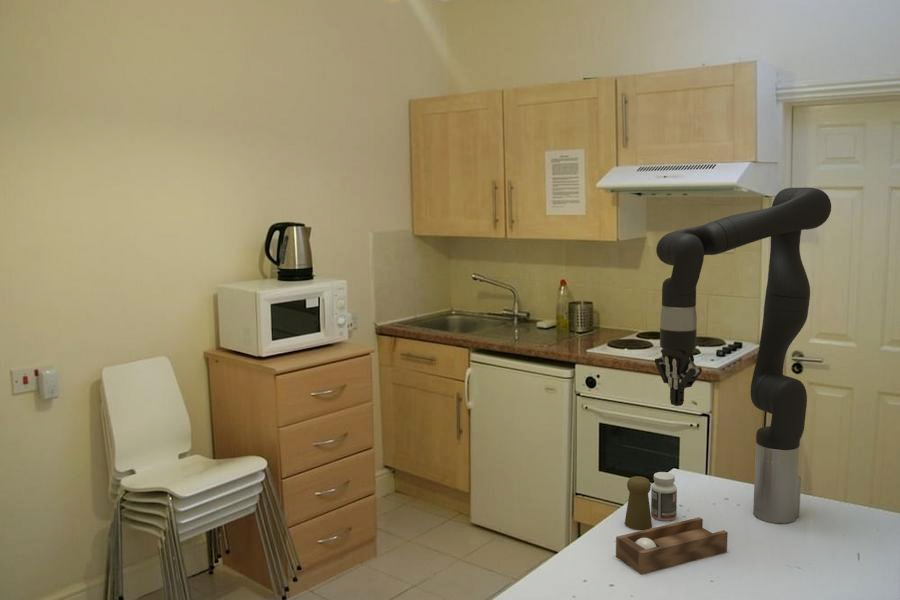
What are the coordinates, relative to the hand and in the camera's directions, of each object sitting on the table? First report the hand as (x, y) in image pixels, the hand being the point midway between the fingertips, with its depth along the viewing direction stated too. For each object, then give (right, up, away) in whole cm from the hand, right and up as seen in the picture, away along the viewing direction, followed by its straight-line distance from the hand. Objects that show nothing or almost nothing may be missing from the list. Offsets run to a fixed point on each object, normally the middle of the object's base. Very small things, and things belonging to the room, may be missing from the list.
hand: (676, 404), depth 171 cm
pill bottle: (0, -28, +12) cm, 30 cm away
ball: (-9, -28, -10) cm, 32 cm away
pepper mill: (-7, -28, +8) cm, 30 cm away
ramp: (-3, -30, -7) cm, 31 cm away
